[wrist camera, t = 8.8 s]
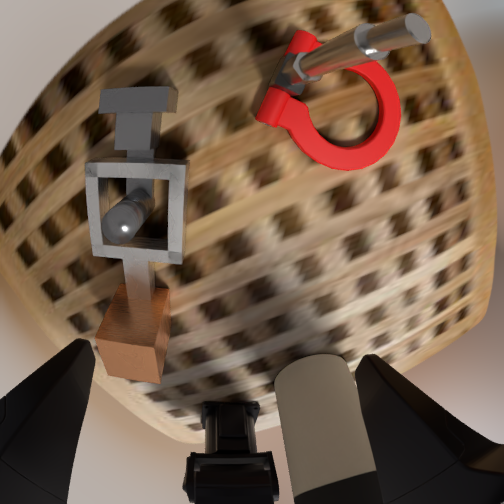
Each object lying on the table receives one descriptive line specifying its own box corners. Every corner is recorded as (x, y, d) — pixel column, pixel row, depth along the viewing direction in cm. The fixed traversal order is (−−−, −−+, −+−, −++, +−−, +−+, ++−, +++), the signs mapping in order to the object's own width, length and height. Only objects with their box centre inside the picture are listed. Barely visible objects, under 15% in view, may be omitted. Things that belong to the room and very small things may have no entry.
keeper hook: (169, 218, 18) (153, 247, 14) (114, 214, 18) (87, 241, 14) (178, 91, 15) (161, 82, 11) (118, 92, 14) (87, 87, 10)
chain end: (185, 327, 23) (177, 385, 17) (114, 319, 22) (93, 372, 16) (189, 160, 16) (169, 186, 11) (95, 157, 15) (45, 183, 10)
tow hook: (406, 90, 15) (296, 22, 13) (560, 112, 4) (419, -73, 2) (364, 185, 19) (246, 131, 16) (500, 283, 7) (317, 175, 5)
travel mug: (260, 390, 27) (281, 548, 11) (301, 343, 24) (353, 534, 8) (317, 400, 29) (353, 533, 13) (360, 359, 27) (421, 506, 11)
